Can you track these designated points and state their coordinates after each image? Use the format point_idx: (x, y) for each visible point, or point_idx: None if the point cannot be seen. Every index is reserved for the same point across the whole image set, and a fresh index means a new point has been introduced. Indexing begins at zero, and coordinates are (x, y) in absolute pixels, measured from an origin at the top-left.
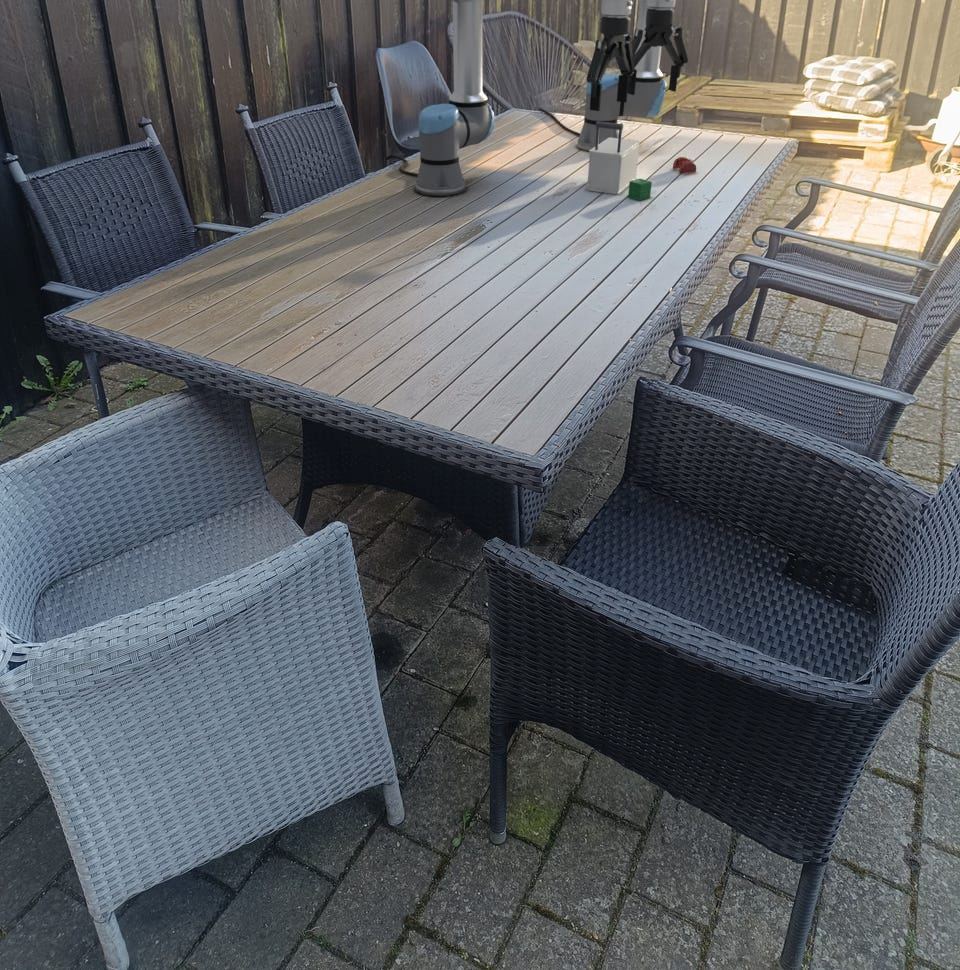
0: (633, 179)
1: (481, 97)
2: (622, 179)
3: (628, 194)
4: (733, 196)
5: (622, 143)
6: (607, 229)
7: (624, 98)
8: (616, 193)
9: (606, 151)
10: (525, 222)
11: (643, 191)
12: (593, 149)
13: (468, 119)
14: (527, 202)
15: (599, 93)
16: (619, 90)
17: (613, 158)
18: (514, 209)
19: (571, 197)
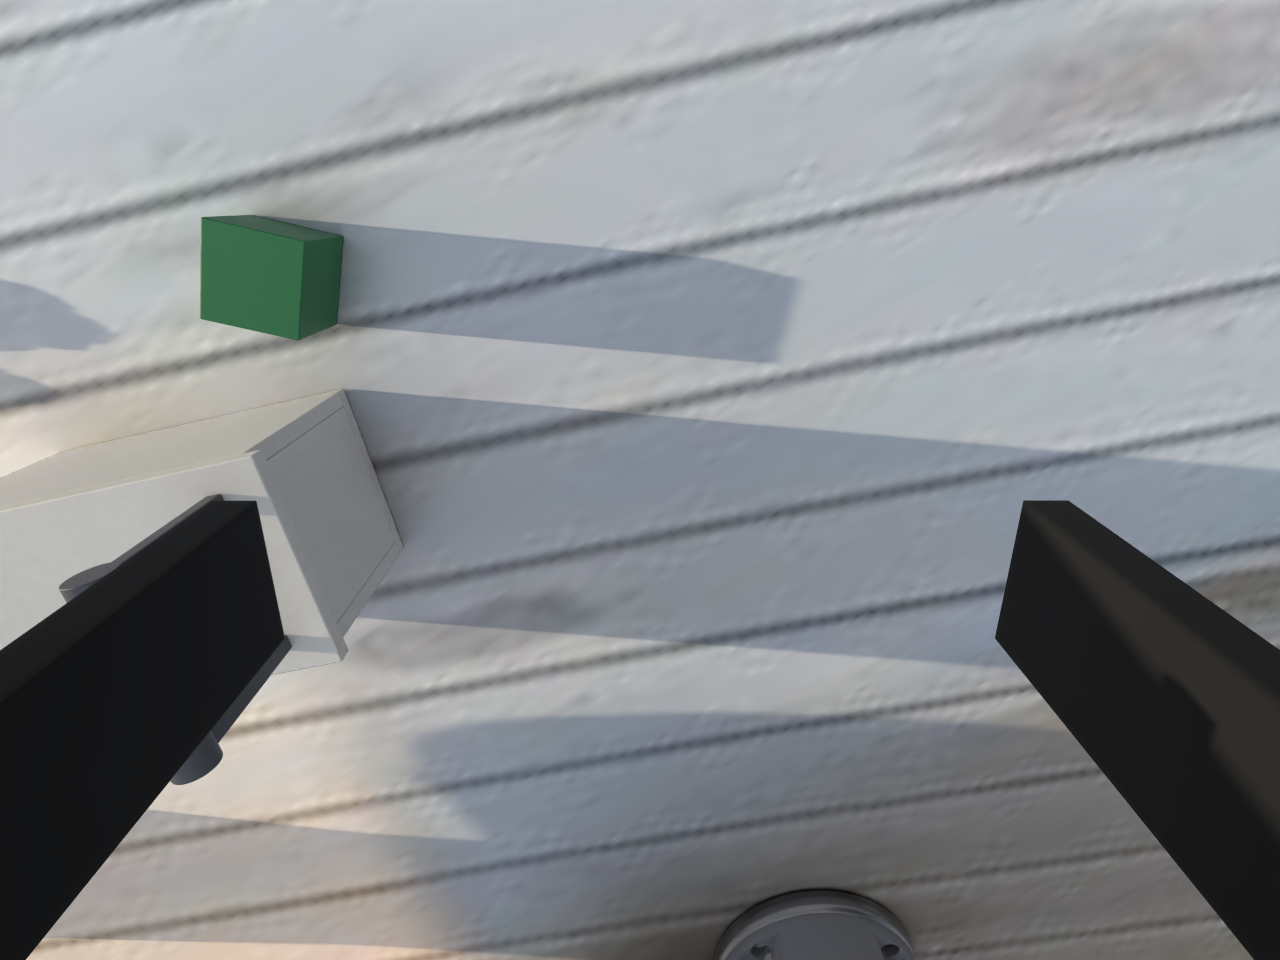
0: (90, 447)
1: None
2: (263, 418)
3: (331, 325)
4: None
5: (16, 596)
6: (896, 105)
7: (230, 544)
8: (346, 399)
9: None
10: (1009, 502)
11: (296, 231)
12: (294, 657)
13: None
14: (747, 649)
15: (1270, 655)
16: (187, 713)
17: None
18: (868, 637)
19: (551, 544)
